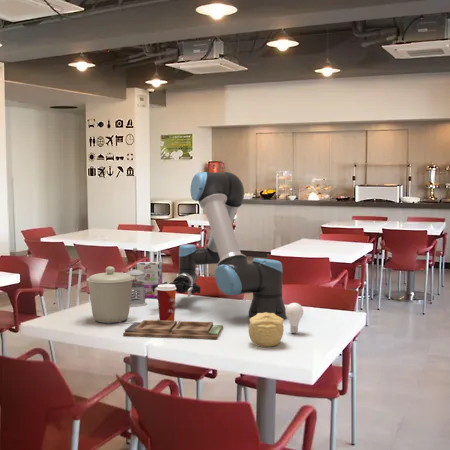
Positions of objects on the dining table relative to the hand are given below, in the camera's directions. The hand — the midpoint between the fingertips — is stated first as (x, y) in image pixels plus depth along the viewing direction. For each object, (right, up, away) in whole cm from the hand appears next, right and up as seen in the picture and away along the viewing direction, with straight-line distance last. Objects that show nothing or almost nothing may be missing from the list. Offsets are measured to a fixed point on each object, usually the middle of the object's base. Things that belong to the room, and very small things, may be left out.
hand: (171, 292), depth 238 cm
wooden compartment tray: (+3, -11, -25) cm, 28 cm away
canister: (-23, -10, -7) cm, 26 cm away
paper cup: (-1, -10, -9) cm, 14 cm away
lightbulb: (+46, -11, -28) cm, 55 cm away
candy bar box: (-14, -7, +38) cm, 41 cm away
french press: (-17, -8, +22) cm, 29 cm away
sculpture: (+35, -13, -41) cm, 55 cm away
